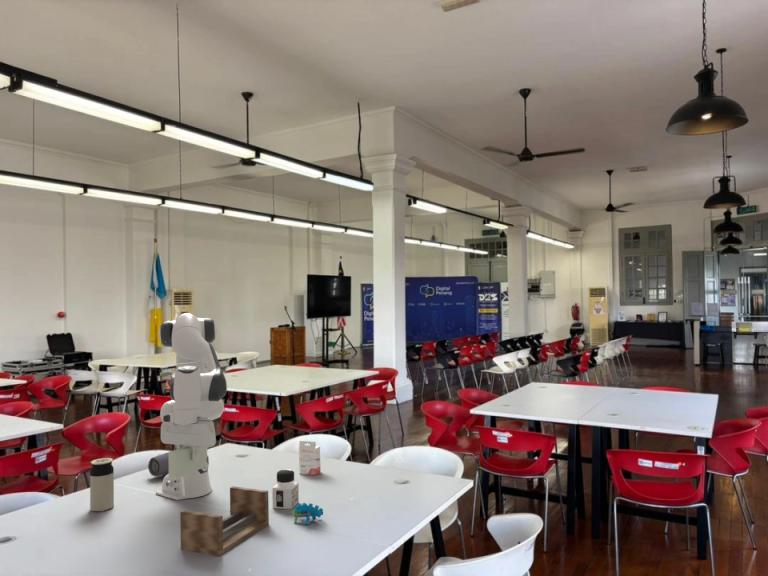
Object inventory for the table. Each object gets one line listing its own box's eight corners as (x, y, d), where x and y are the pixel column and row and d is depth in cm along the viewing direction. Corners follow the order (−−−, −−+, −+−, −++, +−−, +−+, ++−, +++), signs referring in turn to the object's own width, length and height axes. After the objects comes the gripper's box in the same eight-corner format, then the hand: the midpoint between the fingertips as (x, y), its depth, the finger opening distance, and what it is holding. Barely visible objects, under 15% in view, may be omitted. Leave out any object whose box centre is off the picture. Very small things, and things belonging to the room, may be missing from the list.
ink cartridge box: (321, 472, 252) (320, 439, 253) (316, 475, 248) (316, 442, 248) (303, 470, 255) (303, 438, 255) (299, 474, 250) (298, 441, 251)
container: (291, 509, 206) (291, 474, 206) (272, 508, 208) (271, 473, 208) (299, 502, 214) (298, 468, 214) (280, 501, 215) (279, 467, 216)
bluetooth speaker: (160, 480, 244) (160, 457, 245) (147, 477, 249) (147, 455, 250) (202, 467, 264) (202, 446, 264) (189, 464, 269) (189, 444, 269)
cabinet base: (180, 548, 174) (180, 511, 174) (233, 518, 198) (232, 486, 198) (219, 556, 168) (219, 517, 169) (268, 524, 192) (268, 490, 193)
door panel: (168, 477, 175) (168, 452, 175) (199, 465, 188) (199, 441, 188) (176, 478, 174) (175, 452, 174) (206, 466, 187) (206, 442, 187)
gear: (328, 513, 197) (317, 500, 190) (325, 530, 192) (314, 517, 186) (300, 515, 200) (288, 502, 194) (296, 531, 196) (284, 518, 189)
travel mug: (118, 506, 213) (118, 458, 214) (100, 513, 206) (99, 464, 207) (104, 503, 217) (103, 457, 217) (85, 510, 209) (85, 462, 210)
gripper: (219, 416, 181) (220, 459, 180) (171, 412, 189) (171, 453, 188) (206, 420, 175) (207, 464, 174) (157, 416, 183) (157, 458, 182)
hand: (188, 459), depth 181 cm, fingers closed on door panel, 3 cm apart
